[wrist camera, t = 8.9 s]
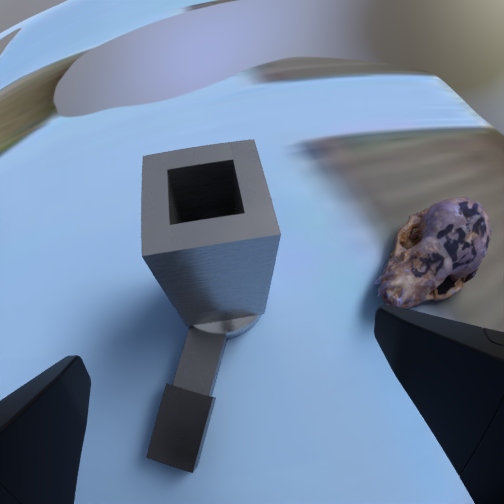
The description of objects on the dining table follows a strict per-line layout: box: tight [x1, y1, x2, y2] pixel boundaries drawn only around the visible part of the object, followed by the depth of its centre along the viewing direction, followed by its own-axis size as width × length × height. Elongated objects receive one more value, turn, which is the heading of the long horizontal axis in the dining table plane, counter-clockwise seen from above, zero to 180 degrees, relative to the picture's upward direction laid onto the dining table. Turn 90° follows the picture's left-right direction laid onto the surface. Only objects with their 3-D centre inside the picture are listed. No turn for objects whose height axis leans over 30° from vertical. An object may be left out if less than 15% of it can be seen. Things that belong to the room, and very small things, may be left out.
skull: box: [374, 197, 491, 309], centre depth 22 cm, size 12×8×6 cm, turn 115°
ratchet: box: [147, 314, 262, 473], centre depth 19 cm, size 16×6×4 cm, turn 167°
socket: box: [141, 140, 281, 326], centre depth 17 cm, size 5×5×10 cm
